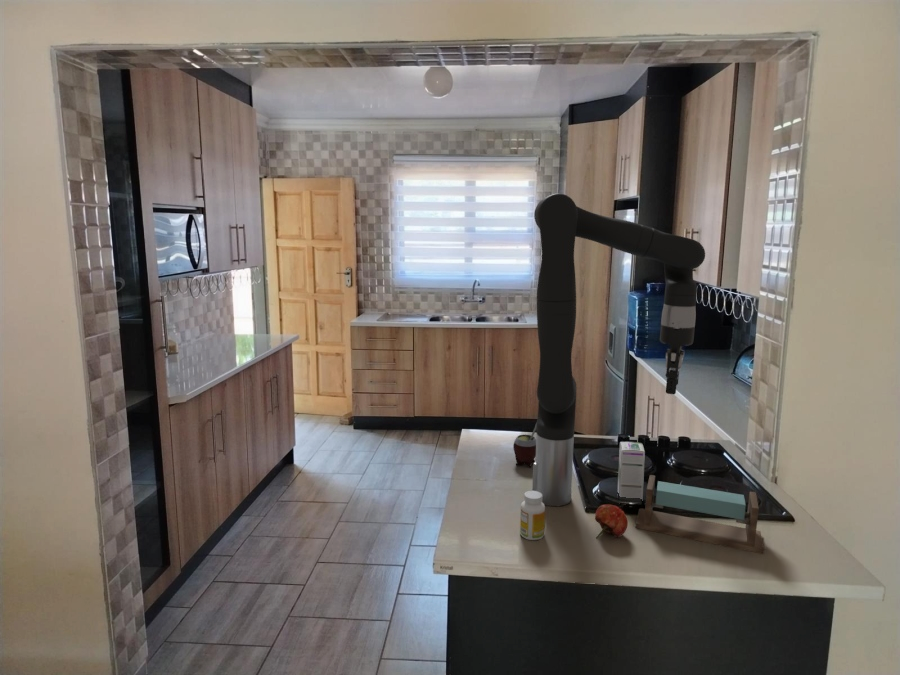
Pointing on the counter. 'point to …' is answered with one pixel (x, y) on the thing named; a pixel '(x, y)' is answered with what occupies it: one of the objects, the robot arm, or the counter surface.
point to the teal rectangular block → (701, 500)
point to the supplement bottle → (532, 516)
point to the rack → (702, 525)
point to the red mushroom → (611, 519)
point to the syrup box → (631, 470)
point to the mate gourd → (525, 449)
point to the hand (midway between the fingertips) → (671, 389)
